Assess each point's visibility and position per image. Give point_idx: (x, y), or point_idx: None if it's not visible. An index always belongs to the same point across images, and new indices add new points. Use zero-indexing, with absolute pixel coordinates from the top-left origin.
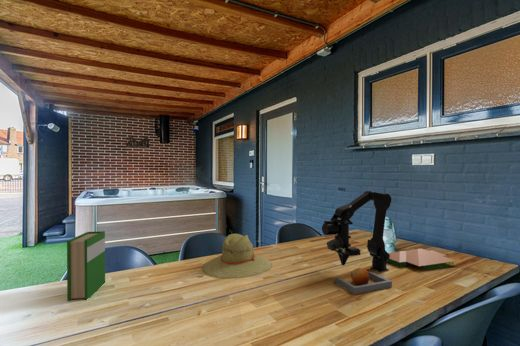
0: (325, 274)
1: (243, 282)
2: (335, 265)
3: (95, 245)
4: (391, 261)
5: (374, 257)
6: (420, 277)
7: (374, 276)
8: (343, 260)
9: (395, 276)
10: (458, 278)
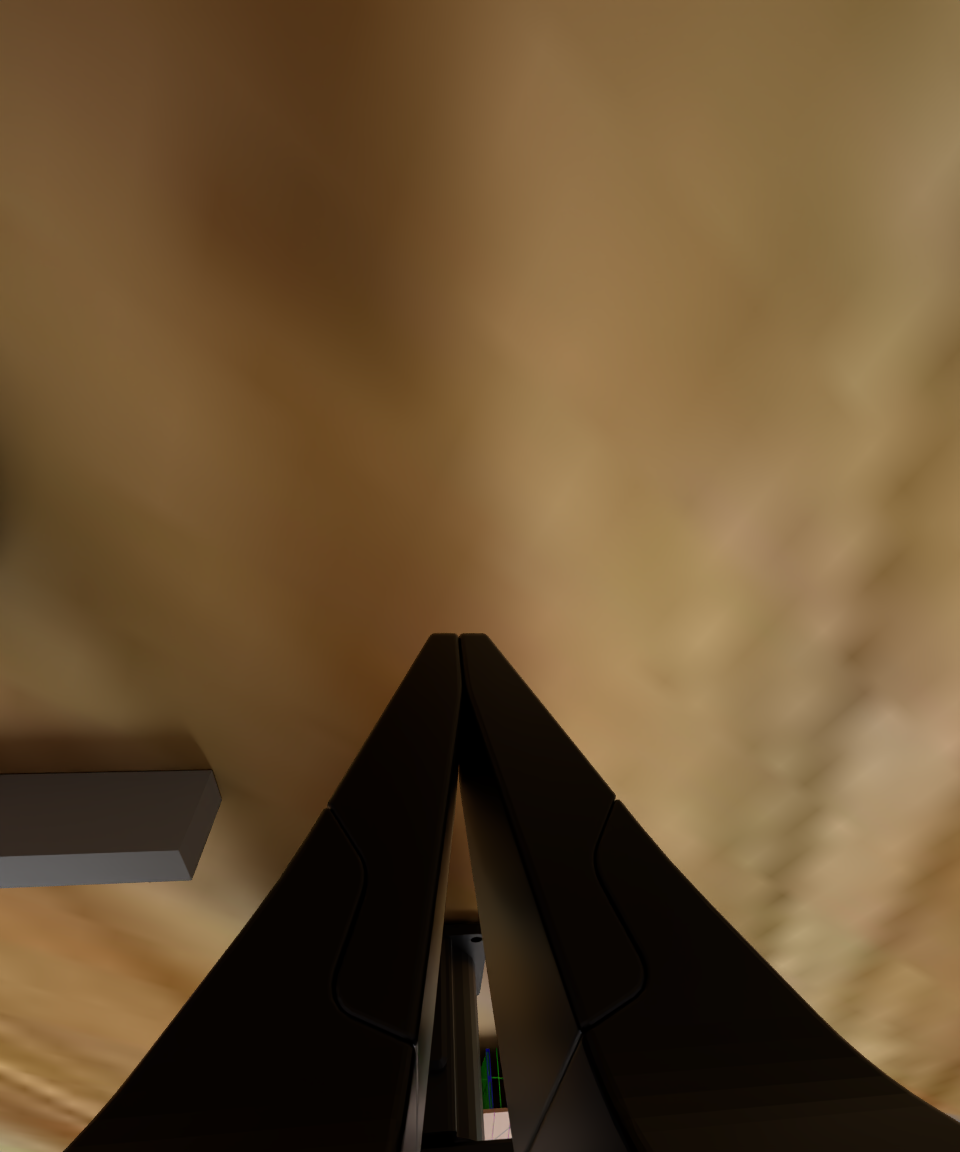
0: (696, 71)
1: None
2: (869, 676)
3: None
4: (490, 1078)
5: (432, 1138)
6: (103, 1055)
7: (3, 832)
8: (349, 784)
9: (165, 965)
10: (54, 1144)
